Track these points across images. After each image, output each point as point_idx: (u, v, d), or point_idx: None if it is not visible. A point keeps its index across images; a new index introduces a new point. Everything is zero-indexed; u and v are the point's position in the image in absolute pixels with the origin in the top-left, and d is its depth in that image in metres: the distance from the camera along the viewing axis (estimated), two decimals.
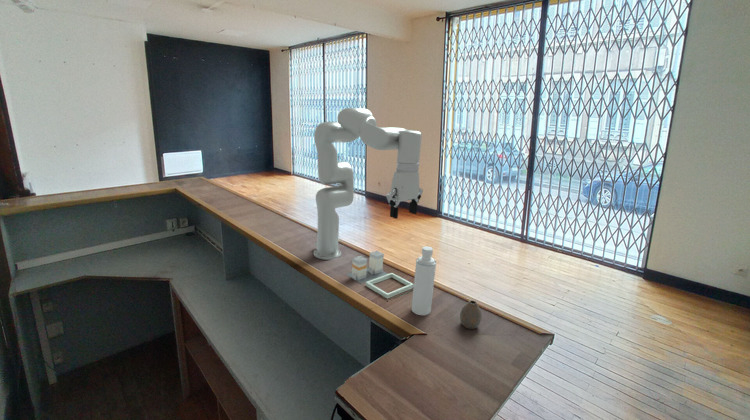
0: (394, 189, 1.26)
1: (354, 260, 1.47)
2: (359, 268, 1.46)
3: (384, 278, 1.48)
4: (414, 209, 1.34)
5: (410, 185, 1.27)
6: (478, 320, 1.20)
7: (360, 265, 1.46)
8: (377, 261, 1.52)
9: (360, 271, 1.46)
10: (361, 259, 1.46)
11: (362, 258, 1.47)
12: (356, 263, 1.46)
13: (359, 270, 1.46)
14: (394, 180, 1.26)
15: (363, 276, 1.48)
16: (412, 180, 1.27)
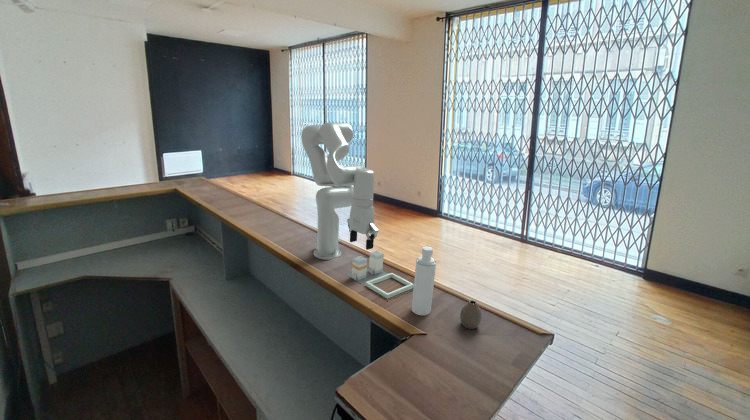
0: (371, 224, 1.39)
1: (354, 260, 1.47)
2: (359, 268, 1.46)
3: (384, 278, 1.48)
4: (356, 237, 1.49)
5: None
6: (478, 320, 1.20)
7: (360, 265, 1.46)
8: (377, 261, 1.52)
9: (360, 271, 1.46)
10: (361, 259, 1.46)
11: (362, 258, 1.47)
12: (356, 263, 1.46)
13: (359, 270, 1.46)
14: (369, 216, 1.38)
15: (363, 276, 1.48)
16: None
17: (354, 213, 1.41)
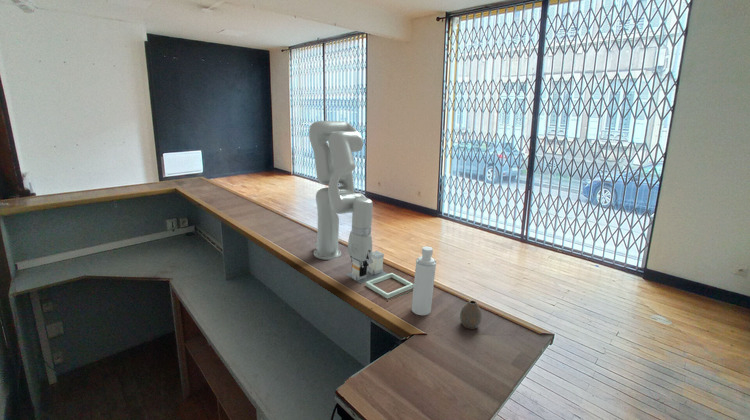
0: (368, 253, 1.43)
1: (354, 260, 1.47)
2: (359, 268, 1.46)
3: (384, 278, 1.48)
4: None
5: None
6: (478, 320, 1.20)
7: (360, 265, 1.46)
8: (377, 261, 1.52)
9: None
10: None
11: None
12: (356, 263, 1.46)
13: (359, 270, 1.46)
14: (367, 244, 1.41)
15: (363, 276, 1.48)
16: None
17: (353, 241, 1.44)
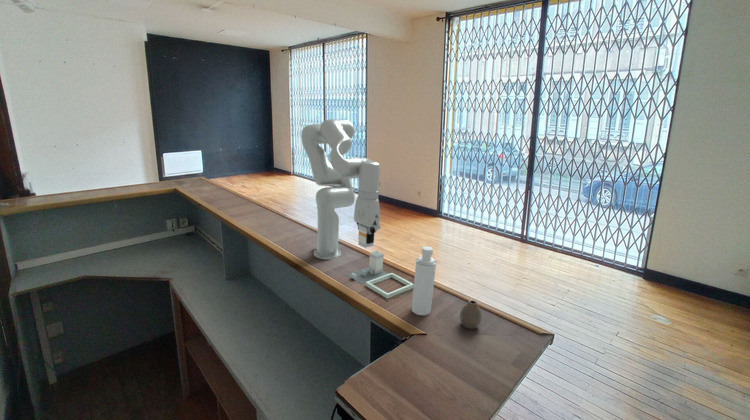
0: (375, 219, 1.37)
1: (361, 227, 1.42)
2: (366, 235, 1.40)
3: (384, 278, 1.48)
4: None
5: None
6: (478, 320, 1.20)
7: (367, 232, 1.40)
8: (377, 261, 1.52)
9: None
10: None
11: None
12: (363, 230, 1.41)
13: (366, 237, 1.41)
14: (374, 209, 1.36)
15: (370, 244, 1.43)
16: None
17: (359, 206, 1.39)
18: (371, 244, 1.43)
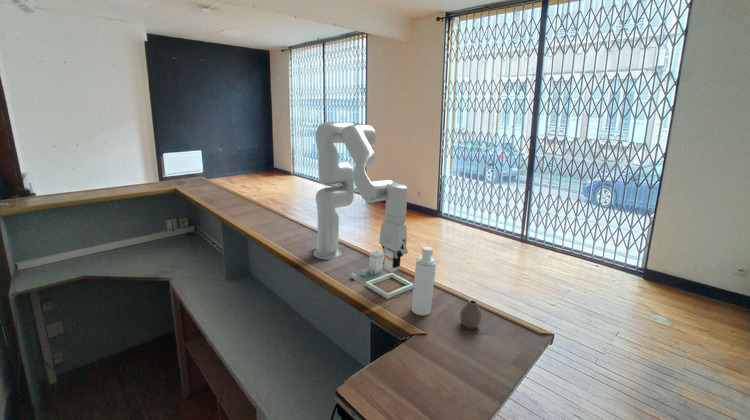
0: (403, 243, 1.34)
1: (387, 251, 1.38)
2: (392, 259, 1.37)
3: (384, 278, 1.48)
4: None
5: None
6: (478, 320, 1.20)
7: (394, 256, 1.37)
8: (377, 261, 1.52)
9: None
10: None
11: None
12: (389, 253, 1.37)
13: None
14: (402, 233, 1.33)
15: (396, 267, 1.40)
16: None
17: (386, 230, 1.36)
18: (397, 268, 1.40)
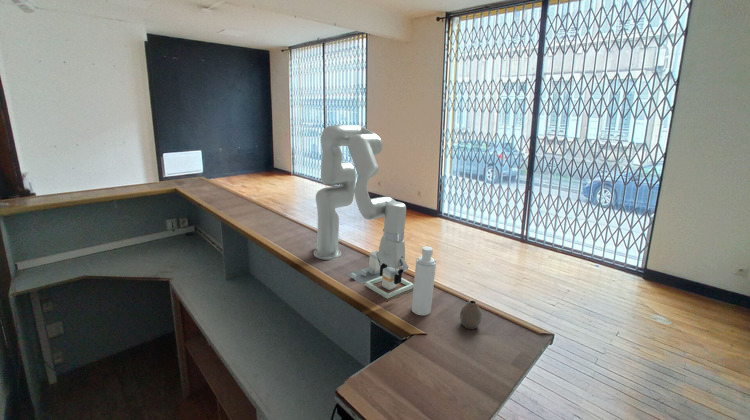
0: (402, 259, 1.36)
1: (385, 272, 1.41)
2: (390, 280, 1.40)
3: None
4: None
5: None
6: (478, 320, 1.20)
7: (391, 276, 1.40)
8: (377, 261, 1.52)
9: (391, 283, 1.41)
10: (392, 271, 1.40)
11: (393, 269, 1.42)
12: (387, 274, 1.40)
13: (390, 282, 1.40)
14: (400, 251, 1.35)
15: None
16: None
17: (385, 246, 1.38)
18: None
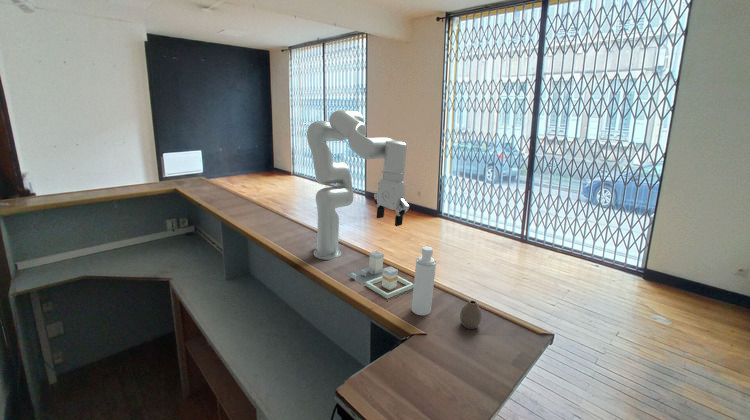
0: (401, 199, 1.31)
1: (385, 272, 1.41)
2: (390, 280, 1.40)
3: None
4: (383, 213, 1.41)
5: None
6: (478, 320, 1.20)
7: (391, 276, 1.40)
8: (377, 261, 1.52)
9: (391, 283, 1.41)
10: (392, 271, 1.40)
11: (393, 269, 1.42)
12: (387, 274, 1.40)
13: (390, 282, 1.40)
14: (399, 191, 1.30)
15: None
16: None
17: (384, 188, 1.33)
18: None
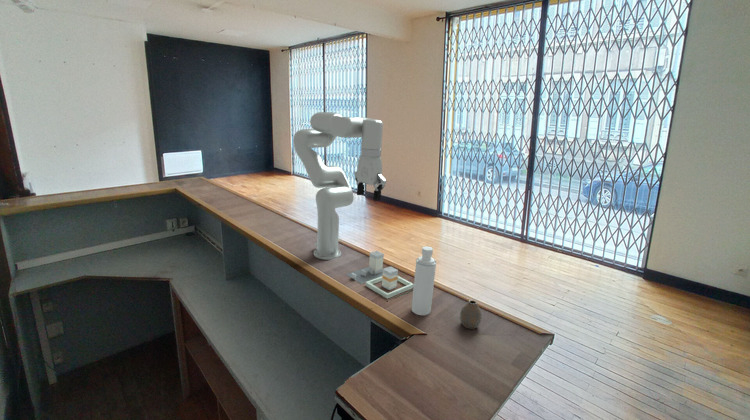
0: (379, 174, 1.38)
1: (385, 272, 1.41)
2: (390, 280, 1.40)
3: None
4: (363, 190, 1.48)
5: None
6: (478, 320, 1.20)
7: (391, 276, 1.40)
8: (377, 261, 1.52)
9: (391, 283, 1.41)
10: (392, 271, 1.40)
11: (393, 269, 1.42)
12: (387, 274, 1.40)
13: (390, 282, 1.40)
14: (377, 166, 1.37)
15: None
16: None
17: (362, 164, 1.40)
18: None
